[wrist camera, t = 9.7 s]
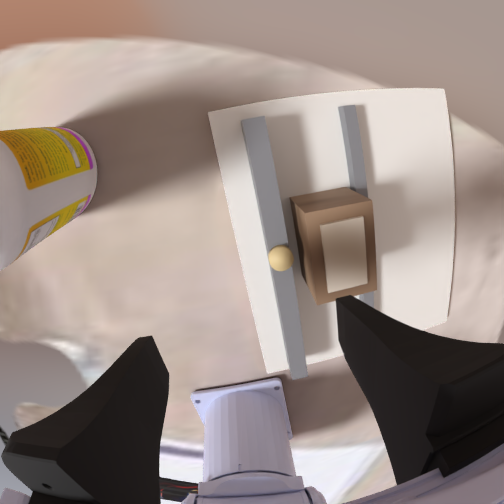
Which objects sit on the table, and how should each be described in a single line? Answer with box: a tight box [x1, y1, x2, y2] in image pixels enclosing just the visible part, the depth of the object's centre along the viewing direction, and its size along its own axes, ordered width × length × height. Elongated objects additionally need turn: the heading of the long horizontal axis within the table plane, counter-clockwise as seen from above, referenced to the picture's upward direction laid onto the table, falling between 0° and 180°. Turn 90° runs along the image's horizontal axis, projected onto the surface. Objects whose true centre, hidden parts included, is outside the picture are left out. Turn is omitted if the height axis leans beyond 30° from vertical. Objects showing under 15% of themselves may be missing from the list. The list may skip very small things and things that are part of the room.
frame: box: [289, 187, 377, 305], centre depth 19 cm, size 6×4×4 cm
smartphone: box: [159, 477, 198, 502], centre depth 33 cm, size 7×1×15 cm
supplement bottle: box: [0, 127, 97, 271], centre depth 13 cm, size 7×7×13 cm
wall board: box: [208, 88, 455, 380], centre depth 20 cm, size 20×17×4 cm
